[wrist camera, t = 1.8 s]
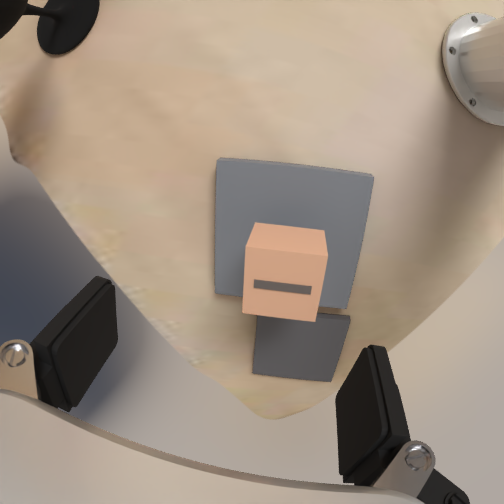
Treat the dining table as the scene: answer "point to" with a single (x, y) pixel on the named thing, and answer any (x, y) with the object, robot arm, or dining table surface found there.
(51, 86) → the dining table surface
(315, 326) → the pad
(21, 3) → the wine glass
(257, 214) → the stand
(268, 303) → the tan slotted box
